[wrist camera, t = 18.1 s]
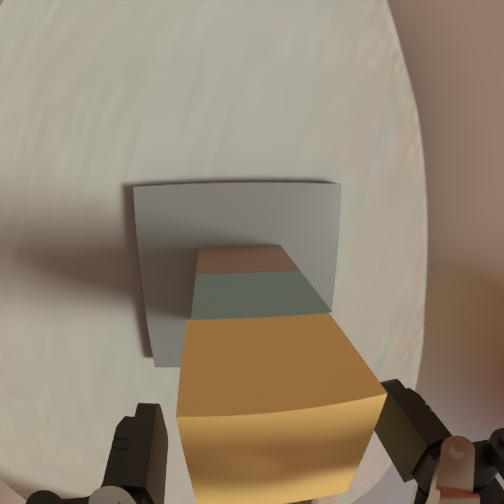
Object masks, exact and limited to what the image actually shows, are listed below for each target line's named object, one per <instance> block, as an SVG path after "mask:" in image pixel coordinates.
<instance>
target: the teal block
mask: <svg viewBox="0 0 504 504" xmlns="http://www.w3.org/2000/svg"><path fill="white" fill-rule="evenodd" d="M322 313H329V314H330V315H331V316H332V313H333V312H332V311H331V310H330V308H329V307H328V306H327V304H326V303H325V302H324V300H323V299H322V298H321V297H320V295H319V294H318V293H317V291H316V290H315V289H314V288H313V286H312V285H311V284H310V282H309V281H308V280H307V279H306V277H305V276H304V275H303V273H302V272H301V271H300V270H292V271H271V272H247V273H221V274H196V278H195V287H194V295H193V304H192V313H191V320H205V319H238V318H261V317H279V316H295V315H309V314H322Z"/></svg>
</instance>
